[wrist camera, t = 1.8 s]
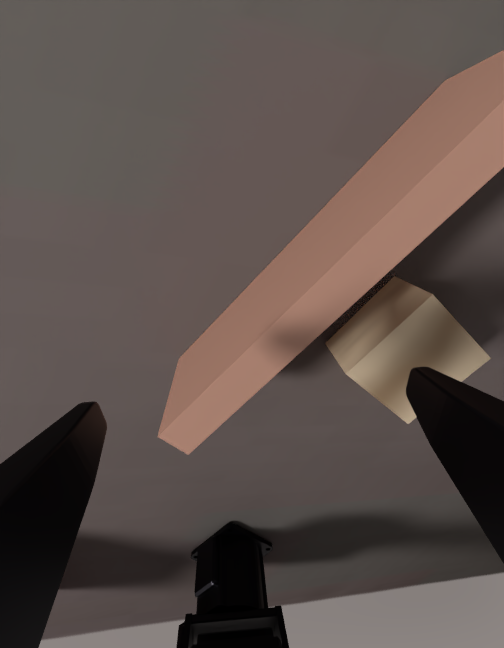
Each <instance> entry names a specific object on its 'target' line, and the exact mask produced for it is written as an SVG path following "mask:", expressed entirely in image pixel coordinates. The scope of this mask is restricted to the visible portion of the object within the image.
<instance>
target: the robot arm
mask: <svg viewBox="0 0 504 648" xmlns="http://www.w3.org/2000/svg"><path fill="white" fill-rule="evenodd" d="M406 396H407V398H408V400H409V402H410V405H411V407H412V409H413V411H414V413H415V415H416V417H417V419H418V421H419V423H420V425H421V427H422V429H423V431H424V433H425V435H426V437H427V439H428V441H429V443H430V445H431V447H432V448H433V450H434V452H435V453H436V455H437V457H438V458H439V460H440V461H441V463H442V465H443V466H444V468H445V470H446V471H447V473H448V474H449V476H450V478H451V479H452V481H453V482H454V484H455V486H456V487H457V489H458V491H459V492H460V494H461V495H462V497H463V499H464V500H465V502H466V503H467V505H468V507H469V508H470V510H471V512H472V513H473V515H474V516H475V518H476V520H477V521H478V523H479V524H480V526H481V528H482V529H483V531H484V533H485V534H486V536H487V537H488V539H489V541H490V542H491V544H492V545H493V547H494V549H495V550H496V552H497V554H498V555H499V557H500V558H501V560H502V562H503V563H504V401H502V400H500V399H497V398H495V397H493V396H491V395H489V394H486V393H484V392H482V391H480V390H478V389H476V388H473V387H471V386H469V385H467V384H465V383H462V382H460V381H458V380H456V379H454V378H451V377H449V376H447V375H445V374H443V373H441V372H438V371H436V370H434V369H432V368H430V367H426V366H424V367H415V368H412V369H411V371H410V374H409V378H408V382H407V386H406ZM106 430H107V424H106V420H105V418H104V416H103V413H102V411H101V409H100V406H99V404H98V403H97V402H84V403H80V404H78V405H77V406H76V407H74V408H73V409H72V410H70V411H69V412H68V413H66V414H65V415H64V416H63V417H61V418H60V419H59V420H57V421H56V422H55V423H53V424H52V425H51V426H50V427H48V428H47V429H46V430H44V431H43V432H42V433H40V434H39V435H38V436H36V437H35V438H34V439H33V440H31V441H30V442H29V443H27V444H26V445H25V446H23V447H22V448H21V449H19V450H18V451H17V452H16V453H14V454H13V455H12V456H10V457H9V458H8V459H6V460H5V461H4V462H2V463H1V464H0V648H38V647H39V644H40V641H41V638H42V636H43V633H44V630H45V627H46V624H47V621H48V618H49V615H50V612H51V609H52V606H53V603H54V600H55V597H56V595H57V592H58V589H59V586H60V583H61V580H62V577H63V574H64V571H65V568H66V565H67V562H68V559H69V557H70V554H71V551H72V548H73V545H74V542H75V539H76V536H77V533H78V530H79V527H80V524H81V521H82V518H83V516H84V513H85V510H86V507H87V504H88V501H89V498H90V495H91V492H92V489H93V486H94V482H95V478H96V474H97V470H98V466H99V461H100V457H101V452H102V448H103V444H104V439H105V435H106ZM272 549H273V548H272V544H271V543H270V542H268V541H266V540H264V539H262V538H260V537H258V536H256V535H254V534H252V533H250V532H249V531H247V530H245V529H243V528H241V527H239V526H237V525H235V524H233V523H229V524H227V525H225V526H224V527H223V528H221V529H220V530H219V531H218V532H216V533H215V534H214V535H213V536H211V537H210V538H209V539H208V540H206V541H205V542H204V543H202V544H201V545H200V546H199V547H197V548H196V549H195V550H194V551H192V553H191V558H192V559H193V560H195V561H197V567H196V580H195V597H197V612H196V614H195V615H192V613H190V614H186V617H185V621H184V623H182V624H181V625H179V630H178V640H177V648H289V645H288V639H287V634H286V629H285V624H284V619H283V613H282V608H281V606H275V607H274V608H268V602H267V593H266V584H265V574H264V565H263V556H265V555H266V554H268V553H269V552H270V551H272Z"/></svg>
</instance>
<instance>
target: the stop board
mask: <svg viewBox="0 0 504 648" xmlns="http://www.w3.org/2000/svg"><path fill="white" fill-rule="evenodd" d="M503 167H504V50H503V51H501V52H499V53H497V54H495V55H493V56H491V57H489V58H487V59H486V60H484V61H482V62H480V63H478V64H476V65H474V66H472V67H470V68H468V69H466V70H464V71H462V72H461V73H459V74H457V75H455V76H453V77H451V78H449V79H447V80H445V81H444V82H443V83H442V84H441V85H440V86H439V87H438V88H437V89H436V90H435V91H434V93H433V94H432V95H431V96H430V97H429V98H428V99H427V100H426V101H425V102H424V103H423V104H422V105H421V106H420V107H419V108H418V109H417V110H416V111H415V112H414V113H413V114H412V115H411V117H410V118H409V119H408V120H407V121H406V122H405V123H404V124H403V125H402V126H401V127H400V128H399V129H398V130H397V131H396V132H395V133H394V134H393V135H392V136H391V137H390V138H389V140H388V141H387V142H386V143H385V144H384V145H383V146H382V147H381V148H380V149H379V150H378V151H377V152H376V153H375V154H374V155H373V156H372V157H371V158H370V159H369V160H368V161H367V163H366V164H365V165H364V166H363V167H362V168H361V169H360V170H359V171H358V172H357V173H356V174H355V175H354V176H353V177H352V178H351V179H350V180H349V181H348V182H347V183H346V184H345V185H344V187H343V188H342V189H341V190H340V191H339V192H338V193H337V194H336V195H335V196H334V197H333V198H332V199H331V200H330V201H329V202H328V203H327V204H326V205H325V206H324V207H323V208H322V210H321V211H320V212H319V213H318V214H317V215H316V216H315V217H314V218H313V219H312V220H311V221H310V222H309V223H308V224H307V225H306V226H305V227H304V228H303V229H302V230H301V231H300V233H299V234H298V235H297V236H296V237H295V238H294V239H293V240H292V241H291V242H290V243H289V244H288V245H287V246H286V247H285V248H284V249H283V250H282V251H281V252H280V253H279V254H278V255H277V257H276V258H275V259H274V260H273V261H272V262H271V263H270V264H269V265H268V266H267V267H266V268H265V269H264V270H263V271H262V272H261V273H260V274H259V275H258V276H257V277H256V278H255V280H254V281H253V282H252V283H251V284H250V285H249V286H248V287H247V288H246V289H245V290H244V291H243V292H242V293H241V294H240V295H239V296H238V297H237V298H236V299H235V300H234V301H233V303H232V304H231V305H230V306H229V307H228V308H227V309H226V310H225V311H224V312H223V313H222V314H221V315H220V316H219V317H218V318H217V319H216V320H215V321H214V322H213V323H212V324H211V325H210V327H209V328H208V329H207V330H206V331H205V332H204V333H203V334H202V335H201V336H200V337H199V338H198V339H197V340H196V341H195V342H194V343H193V344H192V345H191V346H190V347H189V348H188V350H187V351H186V352H185V353H184V354H183V355H182V356H181V357H180V358H179V361H178V364H177V368H176V372H175V375H174V379H173V383H172V386H171V390H170V393H169V397H168V401H167V404H166V408H165V411H164V415H163V419H162V422H161V426H160V429H159V433H158V437H159V438H160V439H162V440H164V441H166V442H167V443H169V444H171V445H172V446H174V447H176V448H178V449H179V450H181V451H183V452H185V453H186V454H188V455H189V454H190V453H191V452H192V451H193V450H194V449H195V448H196V447H197V446H198V445H199V444H201V443H202V442H203V441H204V440H205V439H206V438H207V437H208V436H209V435H210V434H212V433H213V432H214V431H215V430H216V429H217V428H218V427H219V426H220V425H221V424H223V423H224V422H225V421H226V420H227V419H228V418H229V417H230V416H231V415H232V414H233V413H235V412H236V411H237V410H238V409H239V408H240V407H241V406H242V405H243V404H244V403H246V402H247V401H248V400H249V399H250V398H251V397H252V396H253V395H254V394H255V393H257V392H258V391H259V390H260V389H261V388H262V387H263V386H264V385H265V384H266V383H267V382H269V381H270V380H271V379H272V378H273V377H274V376H275V375H276V374H277V373H278V372H280V371H281V370H282V369H283V368H284V367H285V366H286V365H287V364H288V363H289V362H291V361H292V360H293V359H294V358H295V357H296V356H297V355H298V354H299V353H300V352H301V351H303V350H304V349H305V348H306V347H307V346H308V345H309V344H310V343H311V342H312V341H314V340H315V339H316V338H317V337H318V336H319V335H320V334H321V333H322V332H323V331H324V330H326V329H327V328H328V327H329V326H330V325H331V324H332V323H333V322H334V321H335V320H337V319H338V318H339V317H340V316H341V315H342V314H343V313H344V312H345V311H346V310H348V309H349V308H350V307H351V306H352V305H353V304H354V303H355V302H356V301H357V300H358V299H360V298H361V297H362V296H363V295H364V294H365V293H366V292H367V291H368V290H369V289H371V288H372V287H373V286H374V285H375V284H376V283H377V282H378V281H379V280H380V279H382V278H383V277H384V276H385V275H386V274H387V273H388V272H389V271H390V270H391V269H392V268H394V267H395V266H396V265H397V264H398V263H399V262H400V261H401V260H402V259H403V258H405V257H406V256H407V255H408V254H409V253H410V252H411V251H412V250H413V249H414V248H416V247H417V246H418V245H419V244H420V243H421V242H422V241H423V240H424V239H425V238H426V237H428V236H429V235H430V234H431V233H432V232H433V231H434V230H435V229H436V228H437V227H439V226H440V225H441V224H442V223H443V222H444V221H445V220H446V219H447V218H448V217H450V216H451V215H452V214H453V213H454V212H455V211H456V210H457V209H458V208H459V207H460V206H462V205H463V204H464V203H465V202H466V201H467V200H468V199H469V198H470V197H471V196H473V195H474V194H475V193H476V192H477V191H478V190H479V189H480V188H481V187H482V186H483V185H485V184H486V183H487V182H488V181H489V180H490V179H491V178H492V177H493V176H494V175H496V174H497V173H498V172H499V171H500V170H501V169H502V168H503Z"/></svg>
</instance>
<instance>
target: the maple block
mask: <svg viewBox="0 0 504 648" xmlns="http://www.w3.org/2000/svg"><path fill="white" fill-rule="evenodd" d="M325 344H326V345H327V347H328V348H329V350H330V351H331V353H332V354H333V356H334V357H335V359H336V360H337V362H338V363H339V365H340V366H341V368H342V369H343V371H344V372H345V374H347V375H348V376H349V377H350V378H351V379H353V380H354V381H355V382H356V383H358V384H359V385H360V386H361V387H363V388H364V389H365V390H366V391H368V392H369V393H370V394H371V395H373V396H374V397H375V398H376V399H378V400H379V401H380V402H381V403H382V404H384V405H385V406H386V407H387V408H389V409H390V410H391V411H392V412H394V413H395V414H396V415H397V416H399V417H400V418H401V419H402V420H404V421H405V422H406V423H407V424H409V423H410V422H411V421H413V420H414V419H415V418H416V415H415V413H414V411H413V409H412V407H411V405H410V402H409V400H408V398H407V396H406V386H407V382H408V378H409V374H410V371H411V369H412V368H415V367H424V366H426V367H430V368H432V369H434V370H436V371H438V372H441V373H443V374H445V375H447V376H449V377H451V378H454V379H456V380H458V381H460V382H462V381H463V380H464V379H465V378H467V377H468V376H469V375H471V374H472V373H473V372H474V371H476V370H477V369H478V368H479V367H481V366H482V365H483V364H484V363H486V362H487V361H488V360H489V359H491V358H490V357H489V356H488V355H487V354H486V352H485V351H484V350H483V349H482V348H481V347H480V346H479V345H478V344H477V342H476V341H475V340H474V339H473V338H472V337H471V336H470V335H469V334H468V333H467V331H466V330H465V329H464V328H463V327H462V326H461V325H460V324H459V323H458V322H457V320H456V319H455V318H454V317H453V316H452V315H451V314H450V313H449V312H448V310H447V309H446V308H445V307H444V306H443V305H442V304H441V303H440V302H439V301H438V299H437V298H436V297H435V296H434V295H433V294H431V293H429V292H427V291H425V290H423V289H421V288H419V287H416V286H414V285H412V284H410V283H408V282H406V281H404V280H402V279H400V278H398V277H396V276H394V277H393V278H392V279H391V280H390V281H389V282H388V283H387V284H386V285H385V286H384V287H383V288H382V289H381V290H380V291H379V292H377V293H376V294H375V295H374V296H373V297H372V298H371V299H370V300H369V301H368V302H367V303H366V304H365V305H364V306H363V307H362V308H361V309H360V310H359V311H358V312H357V313H356V314H355V315H354V316H353V317H352V318H351V319H350V320H349V321H348V322H347V323H346V324H345V325H343V326H342V327H341V328H340V329H339V330H338V331H337V332H336V333H335V334H334V335H333V336H332V337H331V338H330V339H329V340H328V341H327V342H326V343H325Z"/></svg>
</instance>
